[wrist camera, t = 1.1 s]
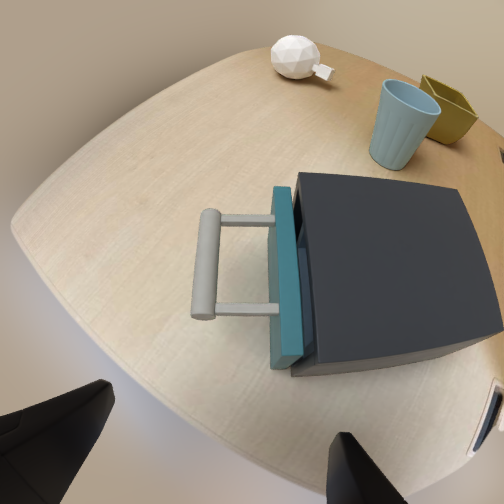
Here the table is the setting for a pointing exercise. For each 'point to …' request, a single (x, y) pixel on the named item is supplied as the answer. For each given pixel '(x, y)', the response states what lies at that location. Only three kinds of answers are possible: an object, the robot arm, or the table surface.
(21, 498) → the robot arm
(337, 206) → the drawer cabinet
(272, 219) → the teal drawer
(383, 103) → the cup
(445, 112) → the flower pot
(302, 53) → the perfume bottle
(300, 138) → the table surface
